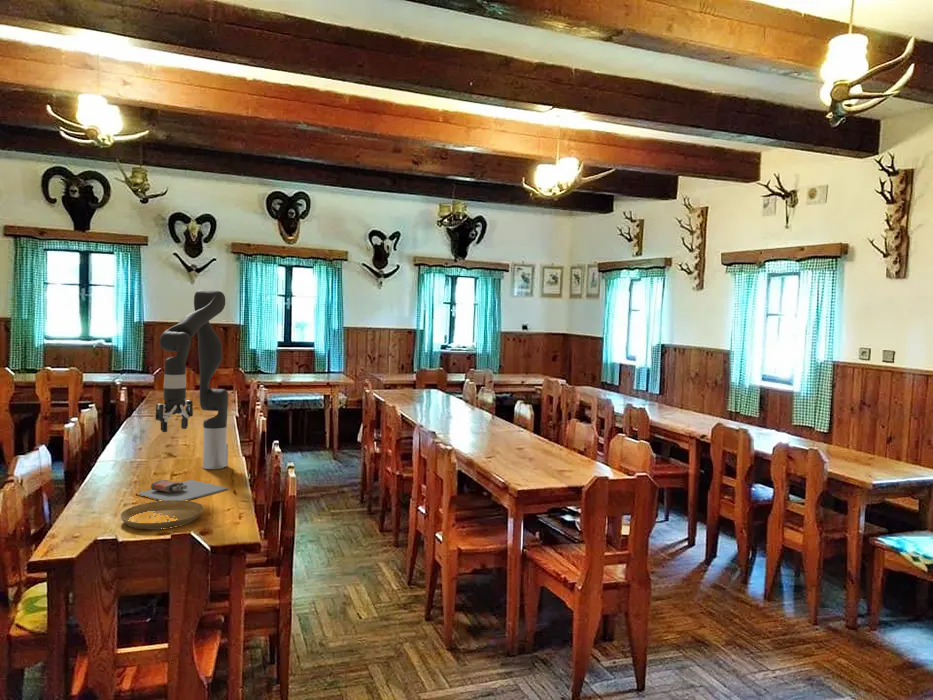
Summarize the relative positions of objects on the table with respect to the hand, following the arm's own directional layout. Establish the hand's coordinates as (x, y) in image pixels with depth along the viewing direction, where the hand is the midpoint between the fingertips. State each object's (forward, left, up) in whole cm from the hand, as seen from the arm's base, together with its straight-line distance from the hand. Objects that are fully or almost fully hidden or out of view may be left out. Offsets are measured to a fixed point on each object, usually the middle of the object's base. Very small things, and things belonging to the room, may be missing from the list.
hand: (174, 430), depth 252 cm
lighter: (+4, -3, -20) cm, 21 cm away
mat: (0, +5, -22) cm, 23 cm away
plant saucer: (+25, +26, -23) cm, 43 cm away
